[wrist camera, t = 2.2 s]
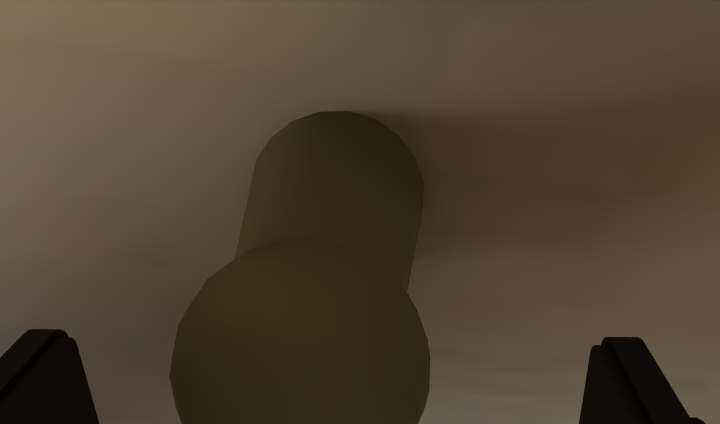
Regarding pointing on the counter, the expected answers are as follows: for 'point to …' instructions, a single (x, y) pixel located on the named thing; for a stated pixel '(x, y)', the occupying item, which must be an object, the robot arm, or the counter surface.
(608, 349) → the robot arm
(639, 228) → the counter surface
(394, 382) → the cork
